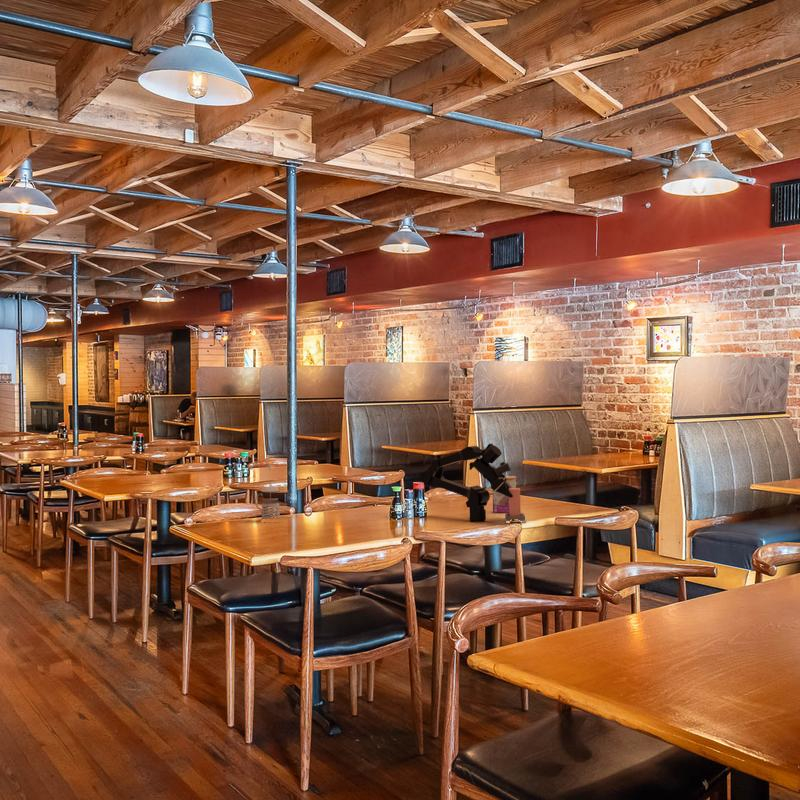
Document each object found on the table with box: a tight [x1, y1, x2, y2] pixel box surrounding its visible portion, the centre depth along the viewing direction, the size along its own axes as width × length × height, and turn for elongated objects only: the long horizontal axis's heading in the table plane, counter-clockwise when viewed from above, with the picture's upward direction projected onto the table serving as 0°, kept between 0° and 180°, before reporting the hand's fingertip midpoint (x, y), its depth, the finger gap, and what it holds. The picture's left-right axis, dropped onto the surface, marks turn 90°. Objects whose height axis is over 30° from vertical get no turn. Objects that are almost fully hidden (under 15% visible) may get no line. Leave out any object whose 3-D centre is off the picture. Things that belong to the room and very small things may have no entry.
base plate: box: [504, 512, 527, 524], centre depth 354 cm, size 8×8×3 cm
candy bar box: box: [492, 475, 518, 514], centre depth 381 cm, size 11×5×16 cm, turn 84°
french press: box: [254, 464, 281, 520], centre depth 369 cm, size 10×12×25 cm
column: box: [509, 487, 522, 516], centre depth 354 cm, size 4×4×13 cm
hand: (512, 495), depth 354 cm, fingers open, 9 cm apart
